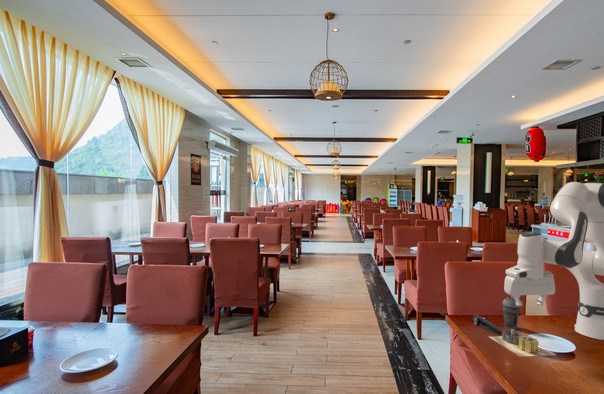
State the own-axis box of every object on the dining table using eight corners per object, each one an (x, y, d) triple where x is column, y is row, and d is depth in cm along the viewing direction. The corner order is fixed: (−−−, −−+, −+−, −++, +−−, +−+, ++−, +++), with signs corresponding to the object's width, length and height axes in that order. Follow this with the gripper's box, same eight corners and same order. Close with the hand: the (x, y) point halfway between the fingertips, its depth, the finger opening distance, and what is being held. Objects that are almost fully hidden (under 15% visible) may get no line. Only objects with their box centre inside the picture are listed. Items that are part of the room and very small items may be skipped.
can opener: (468, 324, 162) (468, 313, 162) (481, 324, 163) (481, 312, 163) (495, 340, 144) (495, 327, 144) (509, 339, 146) (509, 326, 146)
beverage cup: (514, 327, 159) (515, 286, 159) (522, 333, 151) (523, 290, 151) (498, 326, 159) (499, 285, 159) (506, 332, 152) (507, 290, 152)
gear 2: (529, 345, 136) (529, 335, 136) (542, 353, 130) (542, 342, 129) (514, 346, 135) (514, 335, 135) (527, 353, 129) (527, 342, 129)
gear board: (521, 338, 146) (521, 325, 146) (556, 358, 128) (557, 343, 128) (488, 339, 144) (488, 325, 144) (519, 359, 127) (519, 344, 127)
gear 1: (508, 335, 146) (508, 328, 146) (528, 342, 139) (528, 335, 139) (497, 338, 142) (498, 332, 142) (517, 346, 135) (517, 339, 135)
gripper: (546, 269, 137) (546, 302, 138) (501, 270, 135) (501, 303, 135) (559, 273, 131) (559, 307, 131) (513, 273, 129) (512, 308, 129)
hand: (529, 305), depth 133 cm, fingers open, 8 cm apart
